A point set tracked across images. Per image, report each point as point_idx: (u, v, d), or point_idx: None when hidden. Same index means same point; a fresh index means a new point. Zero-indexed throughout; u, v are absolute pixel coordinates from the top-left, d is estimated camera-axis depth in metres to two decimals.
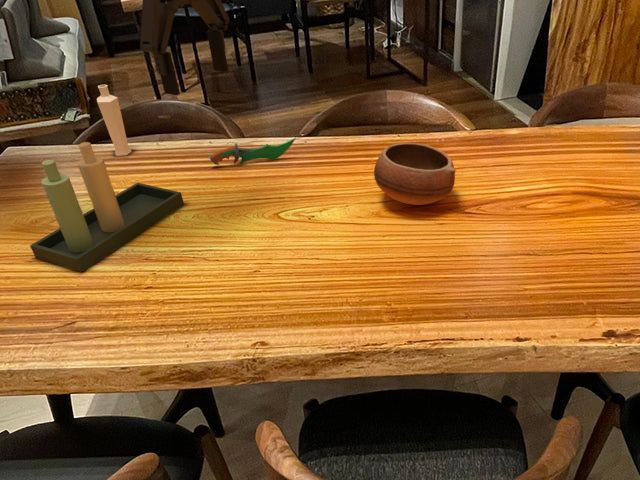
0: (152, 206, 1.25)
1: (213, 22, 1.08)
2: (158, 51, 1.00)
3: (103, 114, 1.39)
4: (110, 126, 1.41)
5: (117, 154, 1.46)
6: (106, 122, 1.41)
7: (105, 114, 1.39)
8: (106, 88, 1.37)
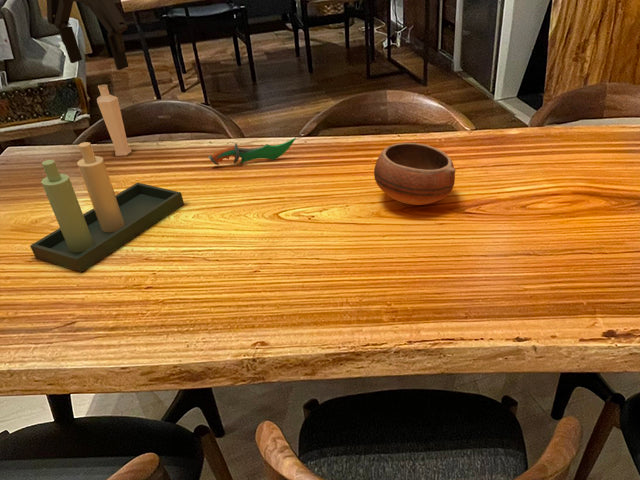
0: (152, 206, 1.25)
1: (67, 19, 1.30)
2: None
3: (103, 114, 1.39)
4: (110, 126, 1.41)
5: (117, 154, 1.46)
6: (106, 122, 1.41)
7: (105, 114, 1.39)
8: (106, 88, 1.37)
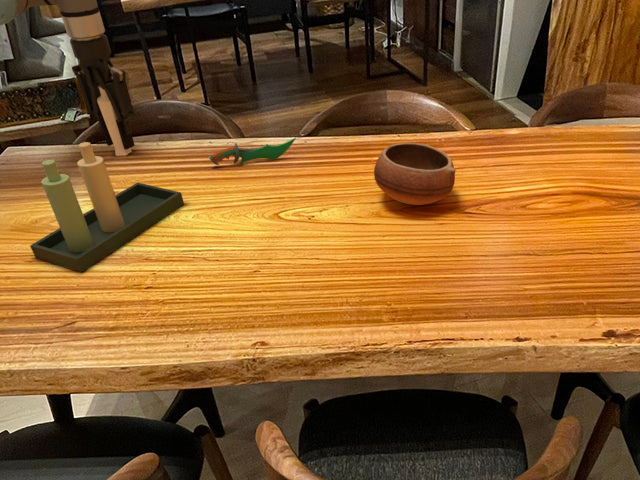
0: (152, 206, 1.25)
1: None
2: (128, 117, 1.41)
3: (103, 114, 1.39)
4: (110, 126, 1.41)
5: (117, 154, 1.46)
6: (106, 122, 1.41)
7: (105, 114, 1.39)
8: None
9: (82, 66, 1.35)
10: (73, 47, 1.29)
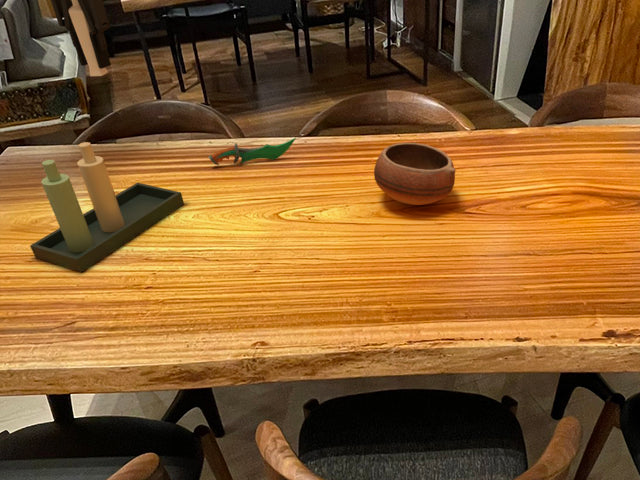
0: (152, 206, 1.25)
1: None
2: (102, 31, 1.28)
3: (75, 26, 1.27)
4: (84, 40, 1.28)
5: (92, 74, 1.33)
6: (79, 36, 1.28)
7: (78, 26, 1.27)
8: None
9: None
10: None
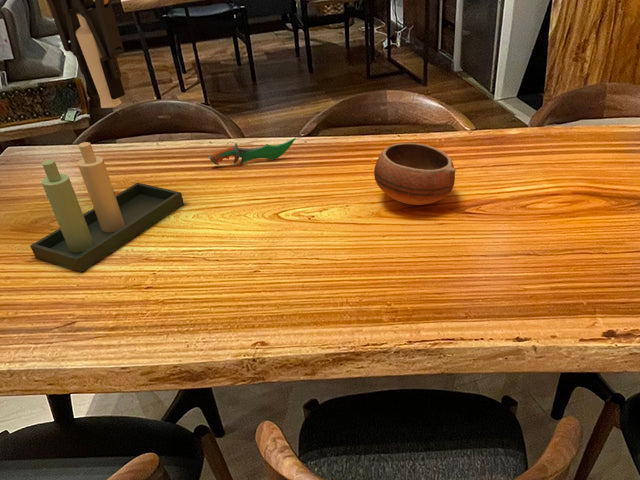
0: (152, 206, 1.25)
1: None
2: (115, 56, 1.09)
3: (84, 51, 1.08)
4: (94, 67, 1.09)
5: (103, 106, 1.14)
6: (88, 62, 1.09)
7: (86, 51, 1.07)
8: None
9: None
10: None
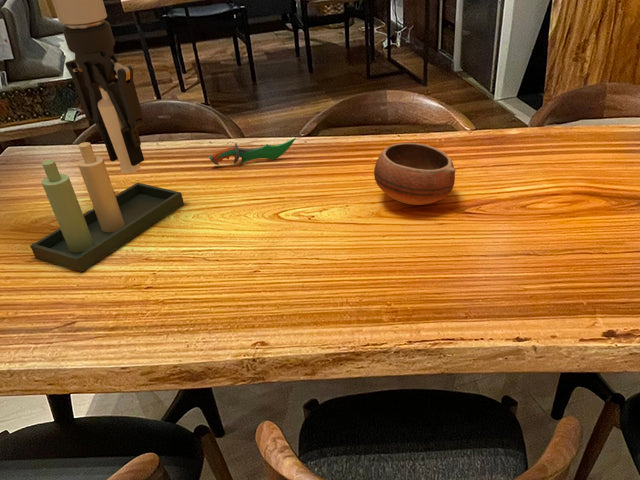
0: (152, 206, 1.25)
1: None
2: None
3: (105, 122, 1.11)
4: (115, 136, 1.13)
5: (123, 171, 1.17)
6: (109, 132, 1.12)
7: (108, 122, 1.11)
8: None
9: (78, 62, 1.06)
10: (66, 37, 1.01)
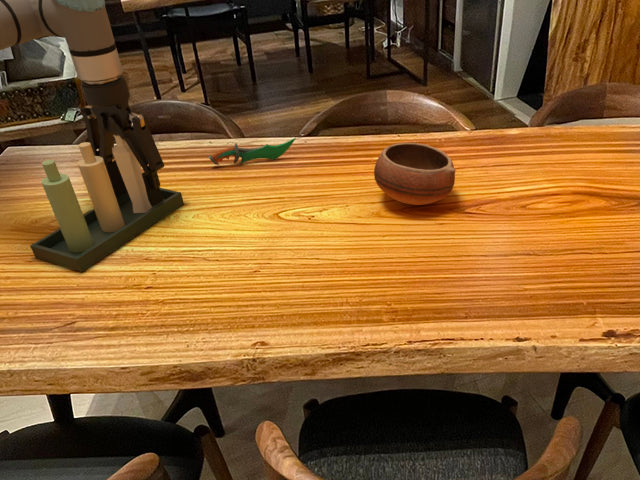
0: (152, 206, 1.25)
1: None
2: None
3: (119, 166, 1.16)
4: (128, 179, 1.18)
5: (135, 211, 1.23)
6: (123, 175, 1.18)
7: (122, 166, 1.16)
8: None
9: (94, 112, 1.12)
10: (84, 91, 1.07)
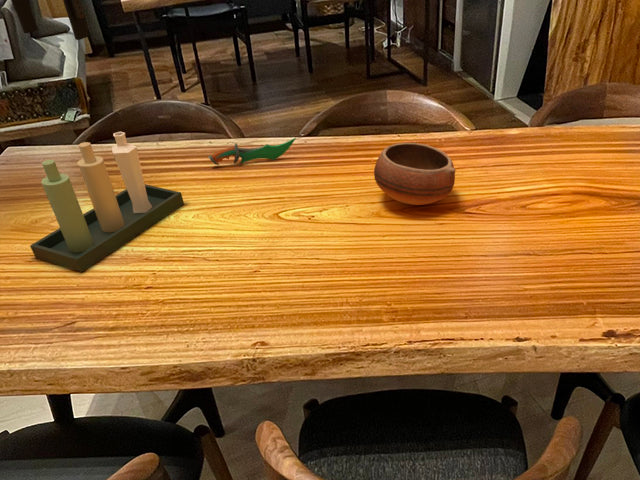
0: (152, 206, 1.25)
1: None
2: None
3: (119, 166, 1.16)
4: (128, 179, 1.18)
5: (135, 211, 1.23)
6: (123, 175, 1.18)
7: (122, 166, 1.16)
8: (123, 136, 1.14)
9: None
10: None
